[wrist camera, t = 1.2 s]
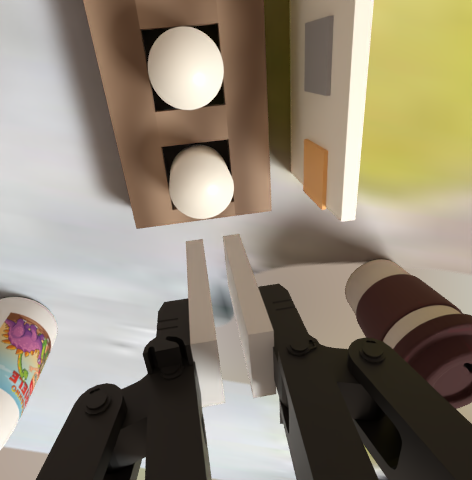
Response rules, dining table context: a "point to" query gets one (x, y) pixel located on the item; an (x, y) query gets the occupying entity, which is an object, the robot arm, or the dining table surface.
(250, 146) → the button board
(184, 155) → the button
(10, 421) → the milk bottle
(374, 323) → the coffee cup
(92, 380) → the dining table surface
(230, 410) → the dining table surface
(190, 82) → the button
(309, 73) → the pattern card
